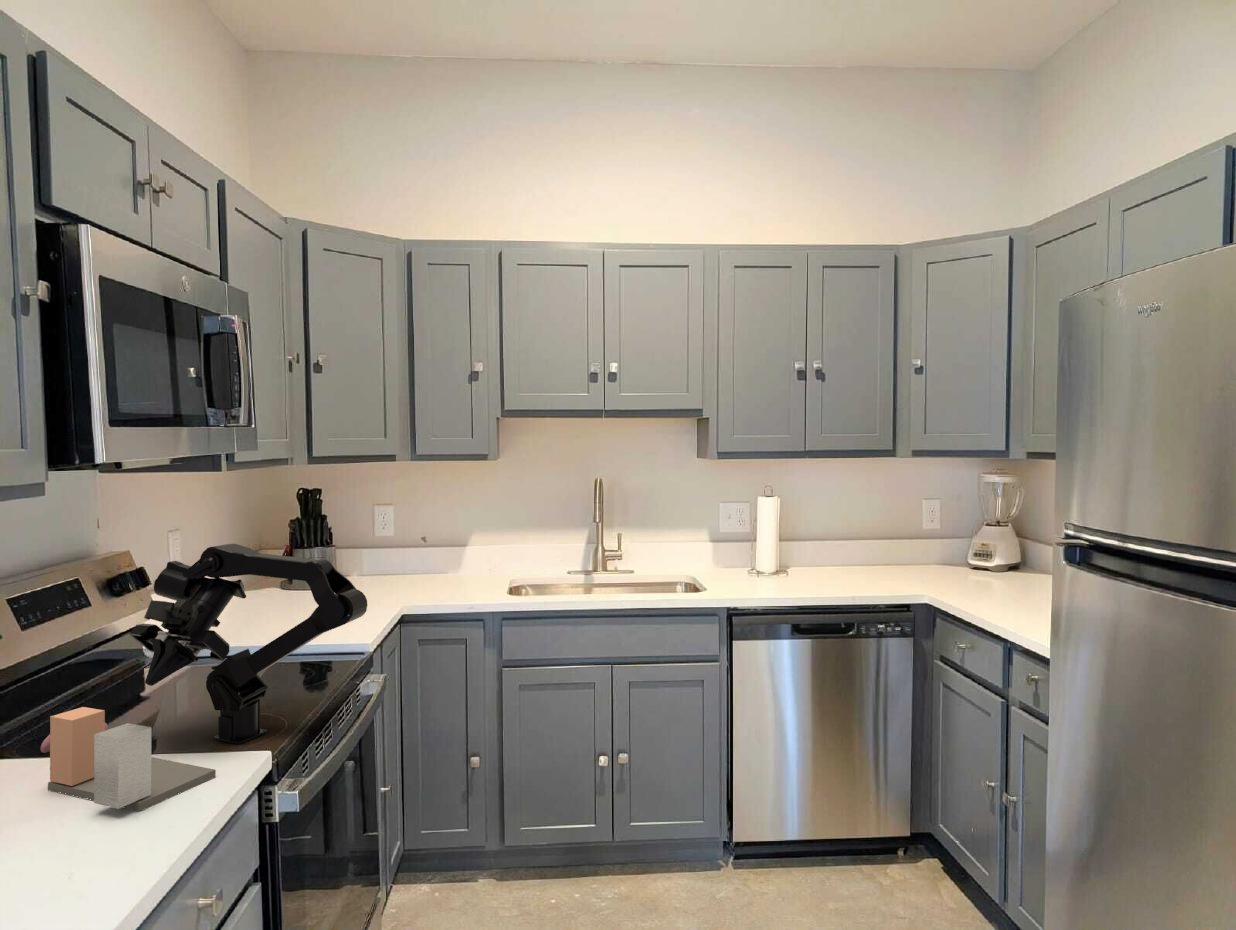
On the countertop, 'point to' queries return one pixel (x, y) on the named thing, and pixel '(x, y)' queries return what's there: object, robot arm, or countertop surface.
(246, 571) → the robot arm
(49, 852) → the countertop surface
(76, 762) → the peach orange rectangular block
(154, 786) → the thin grey base plate
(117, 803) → the brushed grey block
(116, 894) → the countertop surface
